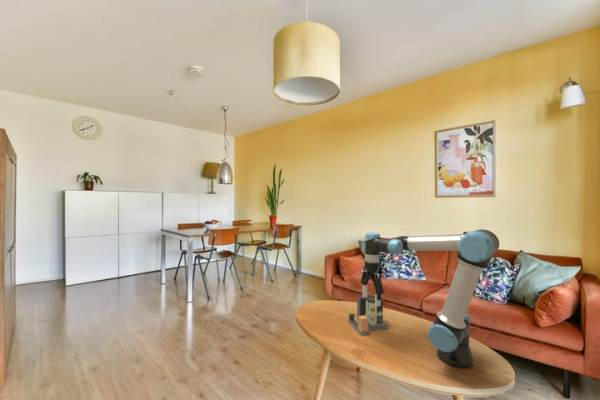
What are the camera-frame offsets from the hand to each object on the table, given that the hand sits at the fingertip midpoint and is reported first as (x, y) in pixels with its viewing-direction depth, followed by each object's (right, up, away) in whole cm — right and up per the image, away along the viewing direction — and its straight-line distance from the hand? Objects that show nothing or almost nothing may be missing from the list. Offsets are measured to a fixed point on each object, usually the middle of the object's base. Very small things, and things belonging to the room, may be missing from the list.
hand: (371, 301), depth 149 cm
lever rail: (-5, -20, +12) cm, 24 cm away
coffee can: (+6, -19, +17) cm, 26 cm away
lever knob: (-3, -18, +6) cm, 19 cm away
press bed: (+5, -20, +19) cm, 28 cm away
